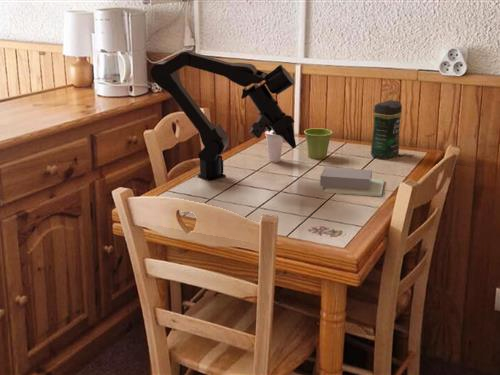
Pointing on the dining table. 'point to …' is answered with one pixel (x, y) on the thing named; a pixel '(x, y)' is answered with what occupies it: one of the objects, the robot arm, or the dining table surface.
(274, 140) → the smoothie
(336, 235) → the dining table surface
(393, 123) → the coffee jar
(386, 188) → the dining table surface
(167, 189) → the dining table surface
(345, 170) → the slate tile
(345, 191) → the pad
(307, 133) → the plant pot
